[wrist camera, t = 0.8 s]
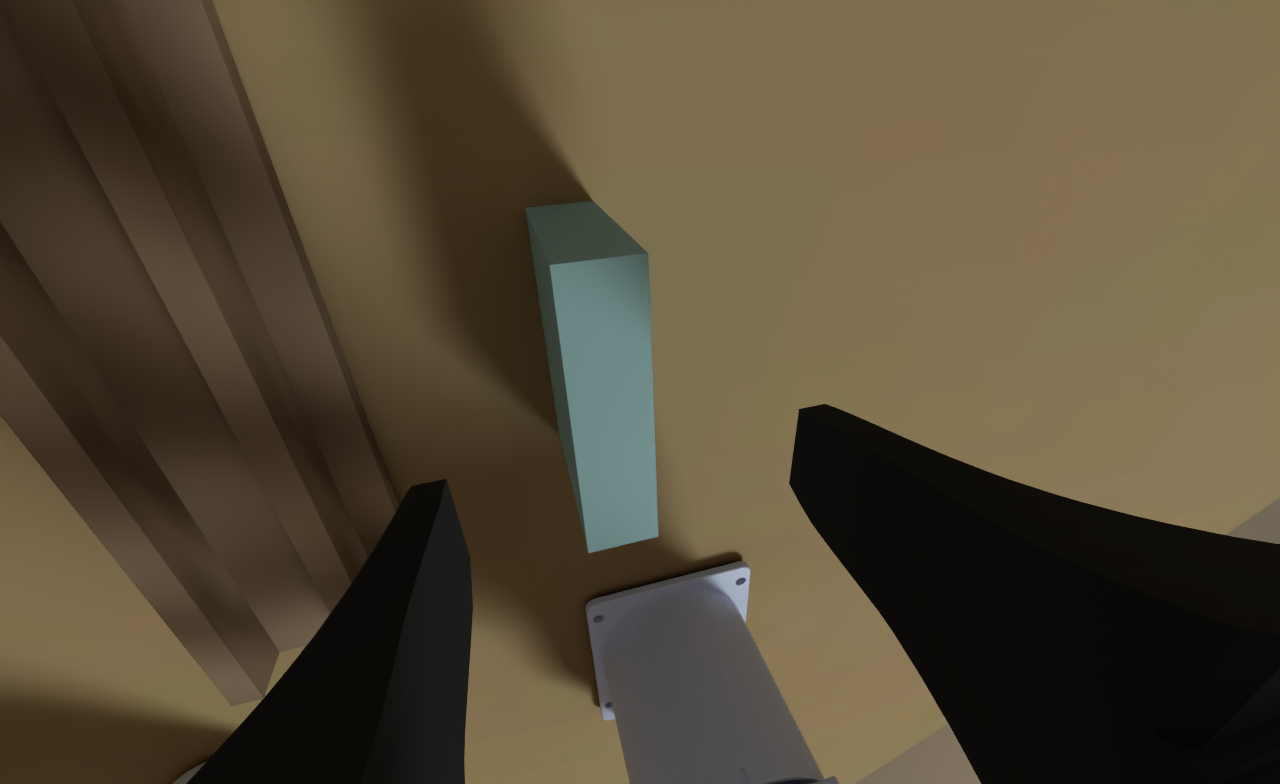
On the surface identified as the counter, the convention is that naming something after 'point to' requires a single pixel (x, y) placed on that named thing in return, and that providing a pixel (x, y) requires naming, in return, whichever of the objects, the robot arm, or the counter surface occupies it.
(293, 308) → the track
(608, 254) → the teal rectangular block
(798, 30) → the counter surface
